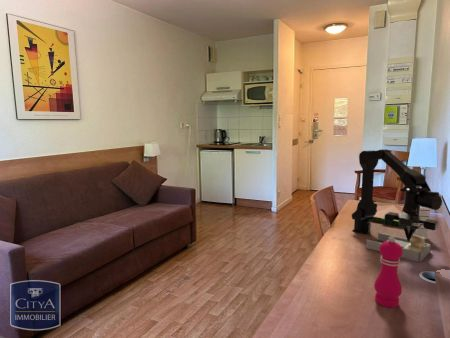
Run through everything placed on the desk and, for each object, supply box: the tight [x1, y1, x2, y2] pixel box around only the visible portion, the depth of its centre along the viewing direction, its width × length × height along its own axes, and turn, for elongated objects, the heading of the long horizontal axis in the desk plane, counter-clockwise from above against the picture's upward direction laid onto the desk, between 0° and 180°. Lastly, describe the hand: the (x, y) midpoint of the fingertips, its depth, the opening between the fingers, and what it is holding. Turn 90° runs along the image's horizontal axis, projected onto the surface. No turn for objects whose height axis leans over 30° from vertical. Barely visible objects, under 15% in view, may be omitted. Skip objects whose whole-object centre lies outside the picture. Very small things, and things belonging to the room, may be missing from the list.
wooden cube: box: [410, 235, 426, 249], centre depth 133 cm, size 4×4×4 cm
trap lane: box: [365, 232, 431, 263], centre depth 136 cm, size 20×14×4 cm
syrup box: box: [412, 206, 431, 240], centre depth 151 cm, size 6×6×14 cm
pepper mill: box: [373, 236, 403, 308], centre depth 94 cm, size 7×7×20 cm
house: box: [373, 204, 404, 227], centre depth 182 cm, size 23×33×8 cm
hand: (408, 240), depth 135 cm, fingers closed
